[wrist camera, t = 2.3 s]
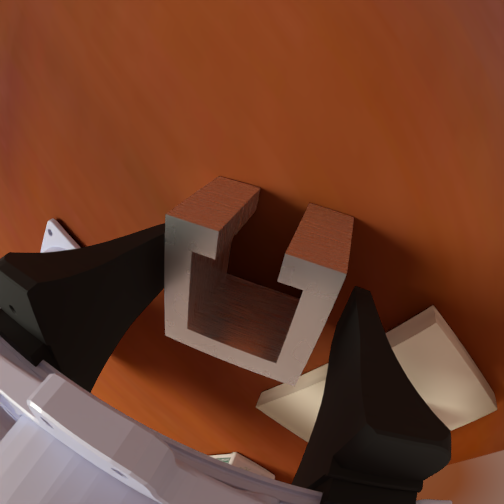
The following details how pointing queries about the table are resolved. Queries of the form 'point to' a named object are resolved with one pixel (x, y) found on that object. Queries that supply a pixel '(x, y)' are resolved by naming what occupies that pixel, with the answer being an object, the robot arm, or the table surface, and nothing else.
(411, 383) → the robot arm
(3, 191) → the table surface
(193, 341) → the grey slotted channel block
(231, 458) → the syrup box
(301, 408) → the keyed post base
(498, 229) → the table surface
